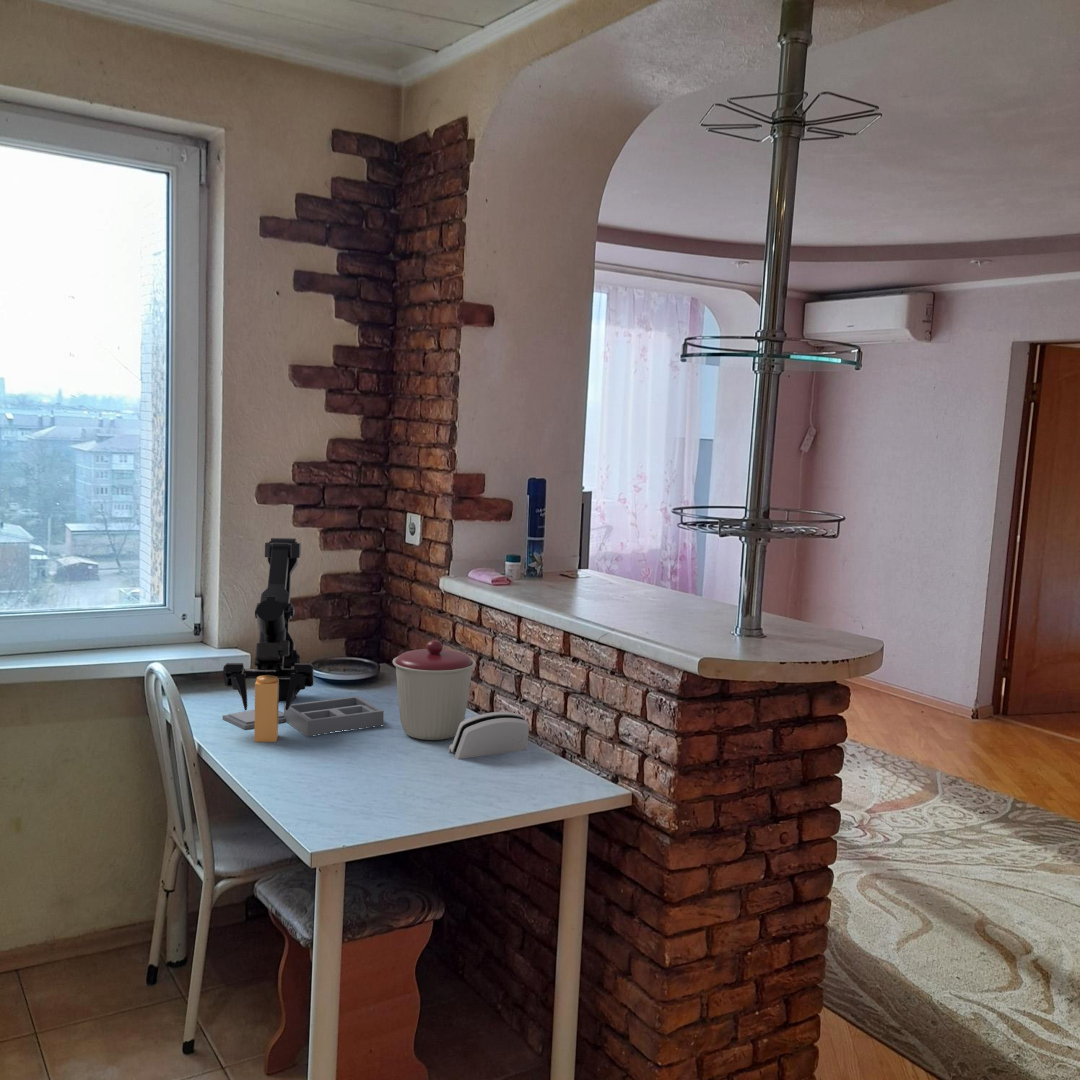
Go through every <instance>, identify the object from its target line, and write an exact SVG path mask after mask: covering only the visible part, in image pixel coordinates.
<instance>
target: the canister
mask: <svg viewBox="0 0 1080 1080" xmlns="http://www.w3.org/2000/svg"><path fill="white" fill-rule="evenodd" d="M392 664H393V666H394V667H395V676H396V686H397V699H398V700H397V701H398V707H399V708H398V710H399V718H400V724H401V728H402V730H403V732H404V733H405V734H406V735H408V736H409V737H411V738H413V739H418V740H422V741H423V740H424V741H440V740H441V741H442V740H448V739H451V738H453V737H454V738H455V736H456V733H457V730H458V727H459V724H460V723H461V722H462V721H464V720H466V719H465V718H466V712H467V707H468V700H469V693H470V687H471V679H472V672H473V670H472V669H473V668H474V667H475V666H476V661H475V660H474V659H473V658H472V657H470V656H469V655H467V654H466V653H463V652H462V651H458V650H454V649H453V650H452V649H447V648H446V649H444V646H443V643H442V642H441V641H440V640H436V639H434V640H433V639H432V640H430V641H428V642H427V644H426V648H419V649H413V650H408V651H405V652H403V653H401V654H400V655H398V656H396V657H394V658H393V660H392Z"/></svg>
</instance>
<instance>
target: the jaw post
mask: <svg viewBox="0 0 1080 1080" xmlns="http://www.w3.org/2000/svg"><path fill="white" fill-rule="evenodd" d="M255 680H256V681H255V683H254V710H255V728H254V732H253V733H254V736H253V737H254V741H253V742H254V743H255V742H256V743H263V742H264V743H265V742H267V743H268V742H270V743H271V742H272V743H273V742H275V743H276V742H277V741H278V737H279V723H278V711H279V705H280V704H279V701H280V700H279V679H277V676H273V675H263V676H258V677H257V679H255Z"/></svg>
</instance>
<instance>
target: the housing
mask: <svg viewBox="0 0 1080 1080" xmlns="http://www.w3.org/2000/svg"><path fill="white" fill-rule="evenodd" d="M384 712H385V710H383V709H381V708H379V707H377V706H376V705H374V704H372V703H370V702H369V701H367V700H366V699H363V698H361V697H360V696H358V695H356V696H348V697H341V698H332V699H324V700H315V701H309V702H308V701H307V702H299V703H291V705H290V707H289V709H288V710H286V704H284V705H283V713H284V717H285V718H286V722H285V723H287V724H288V725H290V726H291V727H293V729H295V730H297V731H298V732H299V733H301V732H302V733H303V734H302V733H301V734H302V735H304V736H305V735H306V736H305V737H307V736H311V737H314V736H313V735H318V734H324V733H330V732H335V731H342V730H343V731H344V730H351V729H359V728H366V727H373V726H381V725H383V726H384V718H385V717H384V714H385V713H384ZM381 727H382V726H381ZM318 736H319V735H318Z"/></svg>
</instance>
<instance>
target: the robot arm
mask: <svg viewBox="0 0 1080 1080" xmlns="http://www.w3.org/2000/svg"><path fill="white" fill-rule="evenodd" d="M301 556H302V543H301V542H297V538H292V537H289V538H288V537H287V538H286V537H271V538H270V541H267V542H266V541H265V542H264V558H267V562H268V565H269V571H268V581H267V588H266V589H264V591H263V592H261V593H260V595H261V596H260V602H257V604H256V607H255V609H254V619H256V620H257V628H258V631H259V634H258V635H259V637H258V642H256V644H255V645H256V648H255V656H254V659H255V660H254V666H255V668H245V666H244V663H243V662H227V663H226V664H225V665H223V669H222V677H223V681H224V686H226V687H227V688H228V687H231V688H232V689H233V690H234V691H237V692H238V693H239V696H240V698H241V702H242V705H243V709H244V711H248V687H247V679H248V680H249V679H255V680H257V677H258V676H263V675H273V676H277V679H279V701H284V700H285V705H286V710H288V709H289V707H290V705H291V704H293V701H294V699H297V695H298V694H299V692H300V691H302V690H305V689H306V687H309V688H310V687H312V686H314V677H315V676H314V665H313V664H312V663H310V662H309V663H305V662H304V663H302V662H301V656H300V654H299V652H298V649H295V648H296V647H295V646H296V644H295V641H294V640H293V639H292V637H291V634H290V620H292V619H293V617H294V616H295V613H296V612H295V607H294V605H293V603H291V586H292V584H291V582H292V574H293V572H294V571H295V570H296V568H297V566H298V563H299V559H300V558H301Z"/></svg>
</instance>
